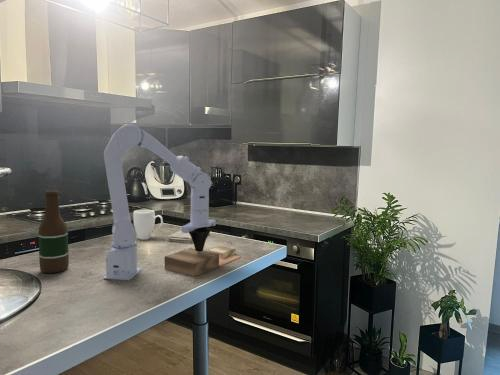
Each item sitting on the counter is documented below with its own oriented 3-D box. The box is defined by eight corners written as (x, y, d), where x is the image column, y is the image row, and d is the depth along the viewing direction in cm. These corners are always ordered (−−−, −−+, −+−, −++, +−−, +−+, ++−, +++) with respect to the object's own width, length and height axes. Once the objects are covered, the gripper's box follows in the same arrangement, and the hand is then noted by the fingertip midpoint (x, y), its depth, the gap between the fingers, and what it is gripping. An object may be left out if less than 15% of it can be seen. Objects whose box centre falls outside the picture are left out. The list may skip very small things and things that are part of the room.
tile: (235, 248, 130) (235, 253, 130) (222, 245, 133) (222, 250, 133) (222, 253, 123) (222, 259, 123) (208, 250, 126) (208, 255, 126)
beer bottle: (74, 266, 113) (72, 190, 111) (55, 274, 106) (52, 192, 103) (54, 263, 115) (51, 188, 113) (33, 271, 108) (30, 191, 105)
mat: (220, 266, 117) (220, 265, 117) (189, 259, 124) (189, 257, 123) (241, 257, 127) (241, 256, 127) (211, 251, 134) (211, 250, 134)
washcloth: (165, 243, 145) (165, 235, 145) (184, 233, 163) (184, 226, 162) (193, 245, 142) (193, 237, 142) (209, 235, 160) (209, 228, 159)
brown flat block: (194, 277, 107) (194, 263, 106) (164, 268, 113) (164, 256, 113) (218, 266, 117) (219, 254, 116) (190, 259, 123) (190, 247, 123)
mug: (130, 240, 146) (129, 212, 145) (139, 235, 154) (138, 208, 153) (158, 242, 144) (158, 213, 143) (166, 237, 153) (166, 210, 151)
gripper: (194, 213, 108) (193, 258, 109) (223, 207, 120) (222, 248, 121) (176, 211, 111) (176, 254, 113) (206, 205, 124) (205, 244, 125)
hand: (199, 250), depth 117 cm, fingers closed
